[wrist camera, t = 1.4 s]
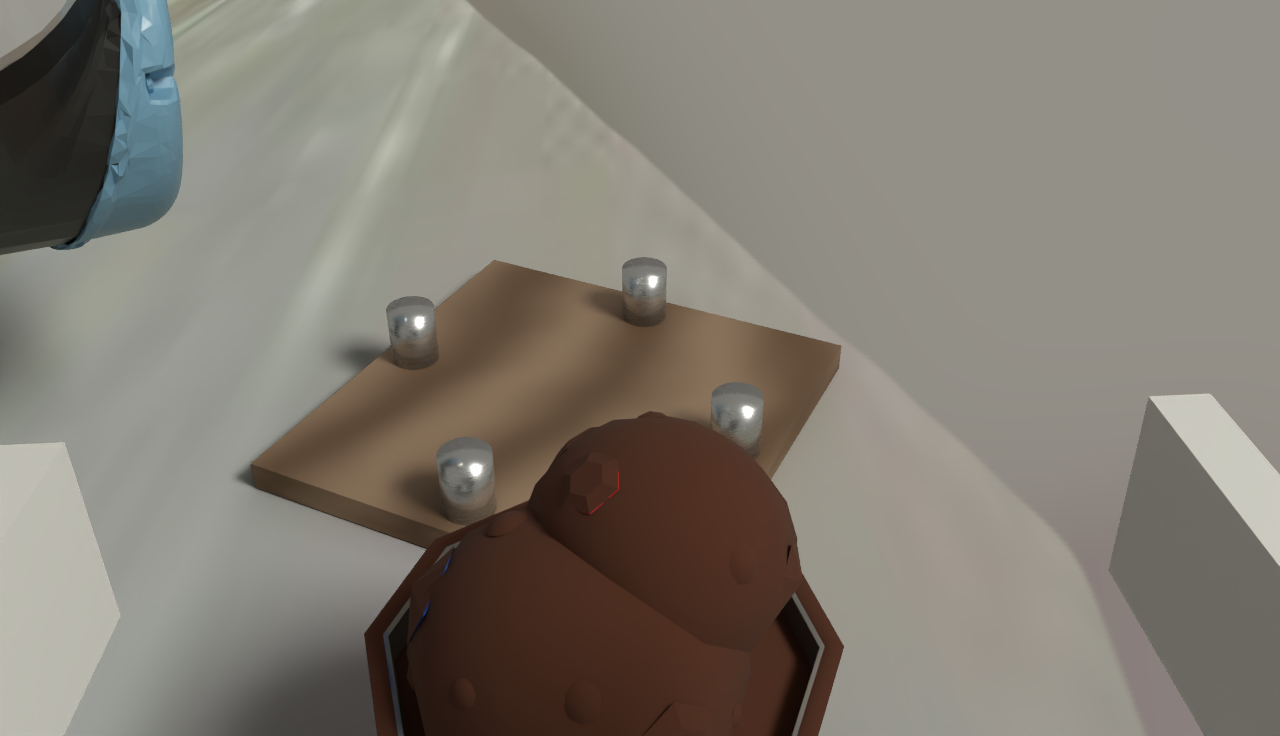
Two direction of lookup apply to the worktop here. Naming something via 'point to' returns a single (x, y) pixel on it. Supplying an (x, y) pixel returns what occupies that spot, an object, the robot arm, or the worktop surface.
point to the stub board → (532, 395)
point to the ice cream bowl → (613, 603)
